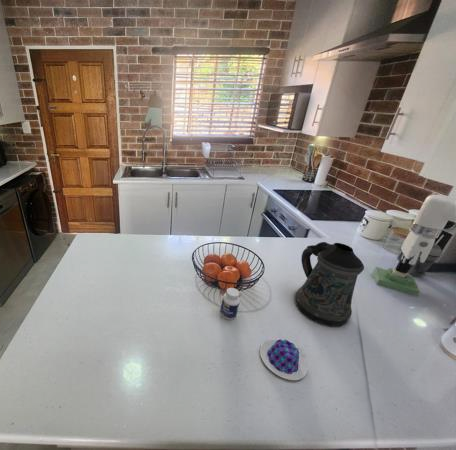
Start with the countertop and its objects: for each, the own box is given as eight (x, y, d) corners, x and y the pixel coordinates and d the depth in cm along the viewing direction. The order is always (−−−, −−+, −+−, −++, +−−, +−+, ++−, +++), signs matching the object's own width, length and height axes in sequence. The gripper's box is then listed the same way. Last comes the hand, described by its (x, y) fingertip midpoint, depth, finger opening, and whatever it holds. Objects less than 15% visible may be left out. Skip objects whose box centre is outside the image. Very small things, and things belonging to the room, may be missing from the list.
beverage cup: (401, 267, 112) (424, 228, 103) (423, 273, 108) (449, 233, 99) (404, 275, 106) (428, 234, 97) (427, 282, 103) (455, 240, 94)
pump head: (403, 274, 98) (406, 270, 97) (405, 279, 95) (408, 275, 94) (390, 270, 100) (392, 266, 99) (392, 276, 96) (394, 271, 96)
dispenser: (408, 284, 101) (415, 273, 98) (414, 299, 93) (423, 287, 90) (371, 274, 106) (377, 262, 103) (374, 287, 98) (381, 275, 96)
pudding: (313, 386, 63) (320, 373, 60) (264, 377, 64) (269, 364, 62) (297, 345, 73) (303, 333, 71) (255, 338, 75) (259, 326, 73)
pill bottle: (218, 317, 82) (223, 294, 78) (221, 306, 86) (225, 284, 82) (235, 322, 80) (241, 299, 76) (236, 310, 85) (242, 288, 80)
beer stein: (343, 337, 77) (378, 272, 65) (278, 304, 88) (299, 244, 77) (351, 308, 88) (382, 248, 76) (292, 283, 99) (312, 227, 88)
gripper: (447, 241, 80) (419, 285, 89) (432, 224, 92) (408, 265, 100) (416, 234, 84) (392, 277, 92) (406, 219, 95) (385, 259, 104)
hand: (400, 271), depth 96 cm, fingers closed
